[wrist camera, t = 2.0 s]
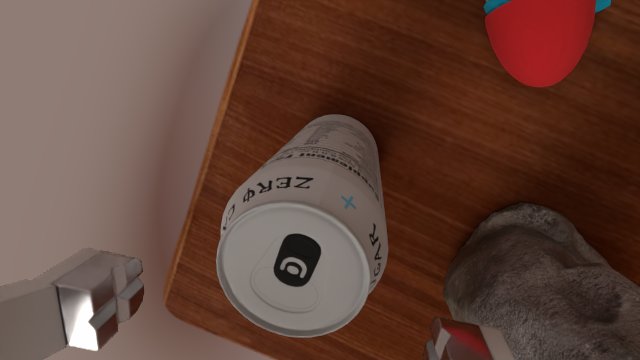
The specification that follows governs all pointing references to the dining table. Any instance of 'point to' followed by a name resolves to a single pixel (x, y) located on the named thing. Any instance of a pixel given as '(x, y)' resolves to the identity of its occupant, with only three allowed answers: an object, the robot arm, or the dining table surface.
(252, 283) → the energy drink can
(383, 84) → the dining table surface
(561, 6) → the toy figure
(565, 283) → the figurine
